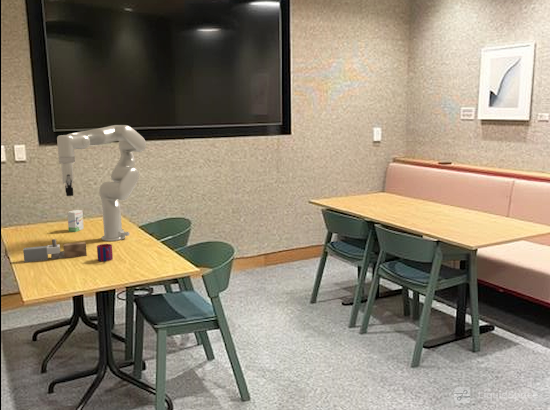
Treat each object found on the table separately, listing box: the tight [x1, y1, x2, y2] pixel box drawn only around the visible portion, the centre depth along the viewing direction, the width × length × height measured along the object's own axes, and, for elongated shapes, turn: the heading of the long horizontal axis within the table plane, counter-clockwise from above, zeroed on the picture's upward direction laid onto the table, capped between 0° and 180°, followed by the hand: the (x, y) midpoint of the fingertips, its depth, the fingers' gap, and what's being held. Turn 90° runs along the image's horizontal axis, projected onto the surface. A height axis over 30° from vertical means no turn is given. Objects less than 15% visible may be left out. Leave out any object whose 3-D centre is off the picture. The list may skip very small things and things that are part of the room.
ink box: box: [67, 209, 84, 233], centre depth 310 cm, size 9×5×12 cm, turn 168°
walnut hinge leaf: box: [50, 238, 87, 260], centre depth 252 cm, size 16×4×9 cm, turn 113°
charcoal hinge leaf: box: [22, 243, 61, 263], centre depth 247 cm, size 16×6×6 cm, turn 112°
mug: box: [96, 243, 114, 262], centre depth 245 cm, size 7×10×7 cm
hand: (69, 194), depth 261 cm, fingers open, 9 cm apart
